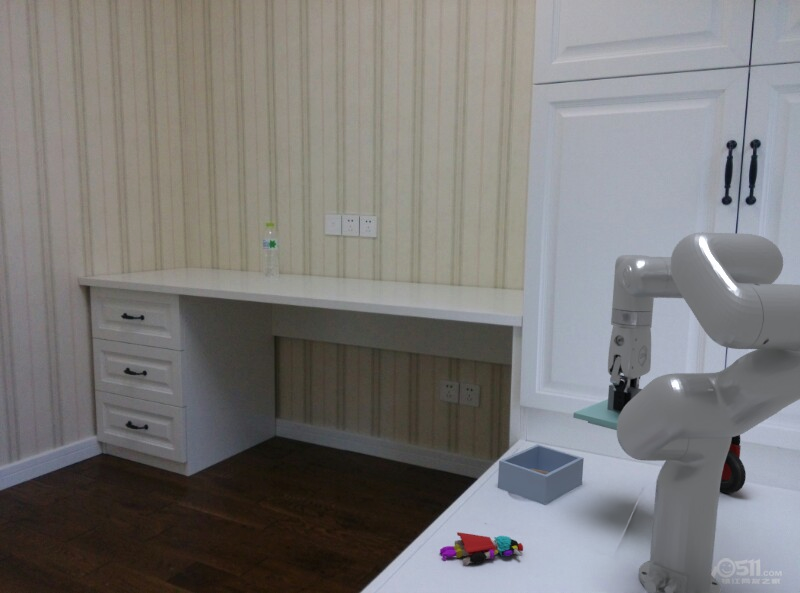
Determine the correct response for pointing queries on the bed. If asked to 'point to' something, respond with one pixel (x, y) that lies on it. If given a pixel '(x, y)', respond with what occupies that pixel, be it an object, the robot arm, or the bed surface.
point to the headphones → (733, 469)
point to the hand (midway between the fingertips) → (624, 408)
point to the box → (535, 484)
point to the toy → (481, 548)
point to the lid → (603, 411)
